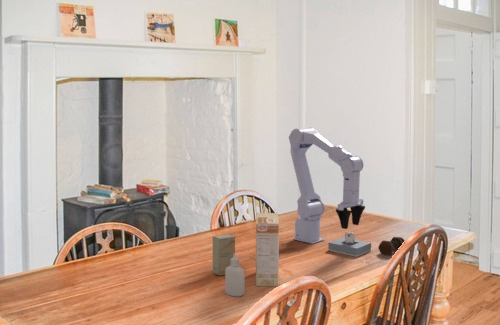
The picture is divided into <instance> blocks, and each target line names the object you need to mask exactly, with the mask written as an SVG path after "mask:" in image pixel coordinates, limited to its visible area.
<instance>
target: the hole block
mask: <svg viewBox="0 0 500 325" xmlns="http://www.w3.org/2000/svg"><path fill="white" fill-rule="evenodd" d="M327 248H328V251H329V252H334V253H337V254H342V255H345V256H346V255H347V256H351V257H357V258H358V257H359V256H362V255H365V254H367V253H369V252H371V251H372V242H367V241H363V240H359V239H355V244H354V245H348V244H345V236H344V237H343V236H342V237H339V238H336V239H335V240H332V241H329V242H328V247H327Z"/></svg>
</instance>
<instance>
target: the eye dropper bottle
mask: <svg viewBox="0 0 500 325" xmlns="http://www.w3.org/2000/svg"><path fill="white" fill-rule="evenodd" d="M224 276H225V277H224V278H225V280H224V283H225V284H224V287H225V294H227V295H228V296H231V297H239V298H240V297H243V296H244V295H245V269H244V268H242V266H240V258H239V257H237V253H235V254H234V255H233V258H231V266H228V267H227V268H226V270H225V275H224Z"/></svg>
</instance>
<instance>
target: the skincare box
mask: <svg viewBox="0 0 500 325" xmlns="http://www.w3.org/2000/svg"><path fill="white" fill-rule="evenodd" d="M234 254H236V236H235V235H232V234H231V233H225V234H219V235H212V273H213V274H215V275H217V276H225V270H226V268H227V267H228V266H231V258H233V255H234Z"/></svg>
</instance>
